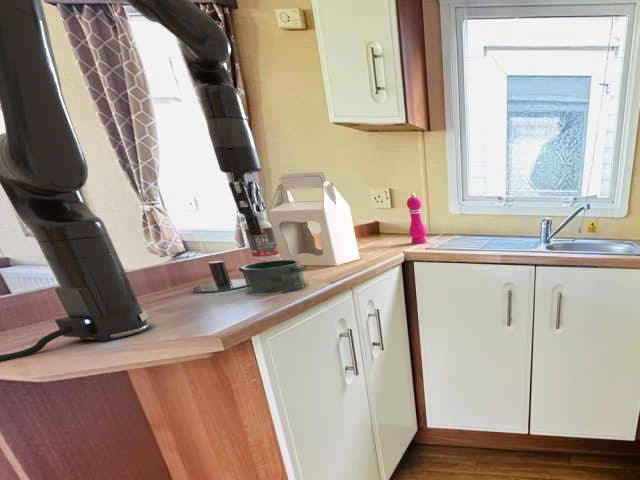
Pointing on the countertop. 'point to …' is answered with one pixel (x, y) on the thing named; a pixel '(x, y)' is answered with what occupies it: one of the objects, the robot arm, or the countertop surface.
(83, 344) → the countertop surface
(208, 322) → the countertop surface
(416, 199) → the pepper mill
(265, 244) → the pill bottle
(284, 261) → the pot
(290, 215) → the gable box
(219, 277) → the pot lid
